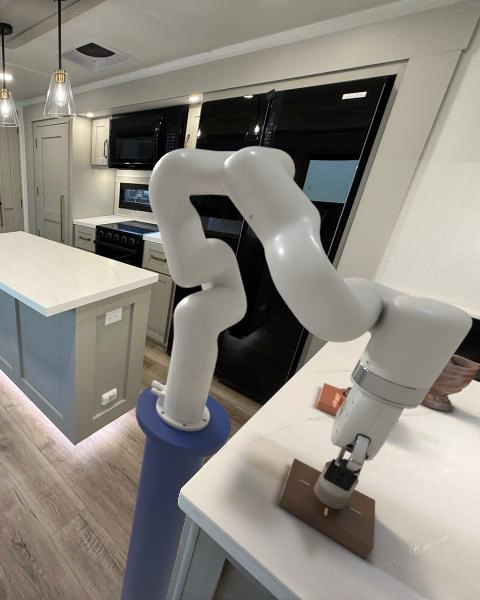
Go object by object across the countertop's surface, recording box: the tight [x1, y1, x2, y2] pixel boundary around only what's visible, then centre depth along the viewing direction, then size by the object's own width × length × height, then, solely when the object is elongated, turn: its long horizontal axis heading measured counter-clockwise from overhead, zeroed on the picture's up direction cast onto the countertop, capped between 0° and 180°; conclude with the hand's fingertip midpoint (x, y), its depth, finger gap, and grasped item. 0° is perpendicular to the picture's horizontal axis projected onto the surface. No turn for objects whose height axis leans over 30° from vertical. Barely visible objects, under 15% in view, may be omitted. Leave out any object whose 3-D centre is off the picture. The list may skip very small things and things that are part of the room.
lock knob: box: [314, 460, 360, 509], centre depth 52 cm, size 4×4×6 cm
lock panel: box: [277, 457, 376, 560], centre depth 54 cm, size 12×10×3 cm
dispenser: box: [315, 382, 347, 417], centre depth 77 cm, size 12×10×4 cm
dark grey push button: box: [344, 386, 353, 397], centre depth 76 cm, size 4×4×2 cm
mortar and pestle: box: [420, 353, 480, 412], centre depth 79 cm, size 12×9×20 cm
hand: (338, 463), depth 51 cm, fingers open, 9 cm apart
